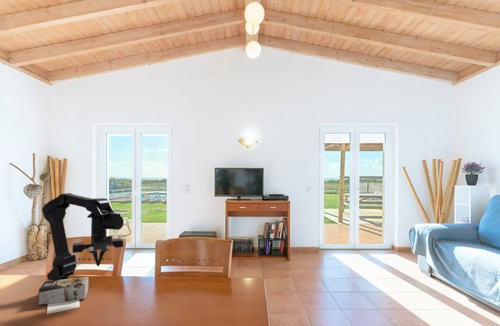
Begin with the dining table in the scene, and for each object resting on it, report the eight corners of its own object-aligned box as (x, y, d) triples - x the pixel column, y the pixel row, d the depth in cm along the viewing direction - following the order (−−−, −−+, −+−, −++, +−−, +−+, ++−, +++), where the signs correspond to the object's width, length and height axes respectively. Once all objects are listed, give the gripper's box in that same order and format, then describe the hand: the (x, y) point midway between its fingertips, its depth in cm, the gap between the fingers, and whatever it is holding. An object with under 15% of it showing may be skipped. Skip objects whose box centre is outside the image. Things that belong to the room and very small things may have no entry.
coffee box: (85, 283, 119) (38, 289, 113) (85, 299, 119) (37, 305, 113) (88, 276, 127) (44, 280, 121) (88, 290, 127) (44, 296, 121)
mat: (48, 300, 118) (48, 299, 118) (78, 294, 124) (78, 294, 124) (46, 314, 106) (46, 313, 106) (79, 307, 112) (79, 306, 112)
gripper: (73, 234, 111) (72, 275, 110) (125, 229, 121) (125, 267, 120) (72, 229, 120) (71, 267, 120) (121, 225, 130) (120, 260, 130)
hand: (98, 265), depth 122 cm, fingers closed
